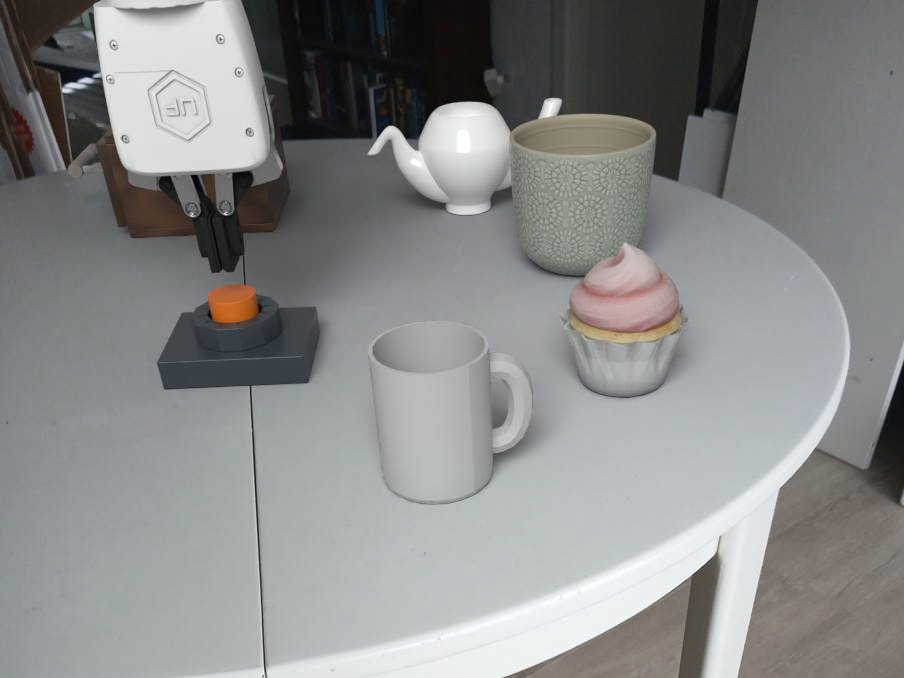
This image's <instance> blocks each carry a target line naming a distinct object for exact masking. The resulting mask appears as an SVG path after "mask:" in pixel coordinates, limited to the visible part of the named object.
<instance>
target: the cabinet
mask: <svg viewBox="0 0 904 678" xmlns="http://www.w3.org/2000/svg"><path fill="white" fill-rule="evenodd" d="M268 98H269V103H270V108H271V113H272V118H273V125H274V135H275V139H274V144H275V147H276V149H277V152H278V154H279V157H280V159H281V162H282V164H283V171H282V173H281V175H280V177H279V178H278V179H275V180H272V181H269V182H266V183H263V184H260V185H256V186H253V187H250V189H249V190H248V192H247V193H246V194H245V196H244V197H243V199H242V200H241V201H240V203H239V204H238V206H237V210H238V215H239V220H240V225H241V230H242V234H245V233H246V234H247V233H248V234H249V233H267V232H275V231H276V228H277V226H278V224H279V223H278V222H279V221H280V218H281V216H282V213H283V210H284V208H285V206H286V203H287V200H288V198H289V195H290V192H291V187H290V181H289V175H288V168H287V161H286V156H285V149H284V144H283V143H284V142H283V137H282V131H281V125H280V119H279V118H280V117H279V112H278V106H277V101H276V100H277V99H276V95H275V94H268ZM103 136H104V139H105V143H106V147H107V150H108V154H109V158H110V161H111V165H112V169H113V173H114V176H115V180H116V184H117V187H118V191H119V195H120V198H121V202H122V206H123V209H124V213H125V217H126V221H127V224H128V227H127V228H128V232H129V235H130V238H131V239H136V238H138V239H139V238H158V237H159V238H161V237H180V236H181V237H182V236H196V233H195V229H194V224H193V220H192V217H189V216H188V215H187V214H186V213H185V212H184V210H183V208H182V207H181V206H180V205H179V204H177V203H176V202H175V201H174V200H172V199H171V198H170V197H169V196H167V195H166V194H165V193H164V192H162V191H159V190H157V191H156V190H150V189H145V188H140V187H135V186H133V185H132V184H130V182H129V181H128V170H127V169H126V168H125V167H124V166H123V164H122V162H121V160H120V157H119V154H118V151H117V148H116V144H115V140H114V136H113V131H112V127H110V128H109V129H108V130H107V131H106V132H105V133H104V134H103ZM200 176H201V178H202V181H203V184H204V187H205V189H206V192H207V195H208V197H209V198H210V199H211V203H214V204H216V189H215V175H214V174H200Z"/></svg>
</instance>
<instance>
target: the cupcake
mask: <svg viewBox="0 0 904 678" xmlns="http://www.w3.org/2000/svg"><path fill="white" fill-rule="evenodd" d="M679 294H680V293H679V289H678V288H677V286H676V285H675V282H674V281H673V279H672V278H671V277H670V276H669V274H668V273H667V272H666V271H664V269H662V268H660V267H659V266H658V265H657V263H656V261H655V260H654V259H653V258H652V257H651V255H649V254H648V253H647V252H645V251H644V250H642V249H641V248H639V247H638V246H637V247H634V246H632V245H630V244H628V243H623V245H622V247H621V249H620V250H619V253H618V256H614V257H609V258H606V259H604V260H602V261H600V262H599V263H598V264H596V265H595V266H594V267H593V268H592V269H591V270H590V271H589V272H588V273H587V274H586V275H584V278H583V279H581V280H580V281H578V283H576V284H575V285H574V287H573V288H572V290H571V291H570V294H569V298H568V304H569V307H570V308H569V309H567V310H564V311H561V312H560V313H559V314H558V315H559V317H560V319H561V321H562V323H563V330H564V332H565V334H566V336H567V338H568V340H569V341H570V344H571V346H572V351H573V357H574V361H575V366H576V370H577V375H578V377H579V378H578V379H580V381H581V384H583V385H584V387H586V388H587V389H589V390H591V391H592V392H595V393H597V394H601V395H604V396H608V397H618V398H621V397H623V398H624V397H625V398H630V397H636V396H641V395H646V394H648V393H651V392H653V391H655V390H656V389H658V388H660V386H661V385H662V384H663V382H665V379H666V376H667V375H668V374H667V373H668V370H669V368H670V366H671V362H672V359H673V357H674V354H675V351H676V349H677V347H678V344H679V341H680V340H681V338H682V336H683V335H684V333H685V331H686V329H687V328H688V325H689V324H690V322H691V320H692V319H691V316H689V315H688V314H686V313H684V312H685V309H686V306H685V304H683V303H680V296H679Z"/></svg>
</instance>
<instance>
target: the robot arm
mask: <svg viewBox="0 0 904 678" xmlns="http://www.w3.org/2000/svg"><path fill="white" fill-rule="evenodd" d="M93 19H94V31H95V39H96V47H97V55H98V60H99V67H100V73H101V77H102V78H101V80H102V85H103V92H104V96H105V100H106V107H107V112H108V116H109V122H110V126H111V127H112V131H113V136H114V140H115V144H116V148H117V151H118V154H119V157H120V160H121V162H122V164H123V166H124V167H125V168H126V169H127V170H128V181H129V182H130V184H132V185H133V186H135V187H140V188H145V189H150V190H156V191H157V190H159V191H162V192H164V193H165V194H166V195H167V196H169V197H170V198H171V199H172V200H174V201H175V202H176V203H177V204H179V205H180V206H181V207H182V208H183V210H184V212H185V213H186V214H187V215H188V216H189V217H192V220H193V224H194V229H195V233H196V235H195V238H196V242H197V246H198V250H199V253H200V254H199V255H200V256H201V258H202V259H205V258H207V260H208V264H209V270H210V272H211V274H219V273H220V272H222V271H223V272H224V271H225V272H226V273H234V272H235V270H236V268H237V266H238V263H239V261H240V257H242V256H245V252H246V251H245V250H246V247H245V246H246V245H245V241H244V236H243V235H244V234H243V233H242V230H241V225H240V220H239V215H238V210H237V206H238V204H239V203H240V201H241V200H242V199H243V197H244V196H245V194H246V193H247V192H248V190H249V189H250V187H253V186H256V185H260V184H263V183H266V182H269V181H272V180H275V179H278V178H279V177H280V175H281V173H282V171H283V164H282V162H281V159H280V157H279V154H278V152H277V149H276V147H275V144H274V139H275V135H274V125H273V118H272V113H271V108H270V103H269V98H268V95H269V94H268V89H267V86H266V82H265V77H264V74H263V70H262V66H261V61H260V58H259V54H258V51H257V47H256V43H255V39H254V36H253V32H252V29H251V25H250V23H249V19H248V16H247V13H246V11H245V7H244V4H243V2H242V0H99V1H97V2H95V3H94V4H93ZM111 127H110V128H111ZM200 174H214V175H215V189H216V204H214V203H211V199H210V198H209V197H208V195H207V192H206V189H205V187H204V184H203V181H202V178H201V176H200Z"/></svg>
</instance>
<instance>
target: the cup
mask: <svg viewBox="0 0 904 678" xmlns="http://www.w3.org/2000/svg"><path fill="white" fill-rule="evenodd" d="M489 342H490V341H489V338H488V337H487V335H485V334H484V332H483V331H481V330H479V329H478V328H476V327H473V326H471V325H468V324H465V323H460V322H455V321H449V320H425V321H424V320H422V321H416V322H409V323H404V324H401V325H397V326H395V327H392V328H389V329H387V330H385V331H383V332H381V333H379V334H378V335H377V336H376V337H375V338H373V339H372V340H371V342H370V343H369V345H368V347H367V356H368V365H369V375H370V382H371V383H370V384H371V390H372V398H373V399H372V400H373V406H374V407H373V408H374V415H375V416H374V417H375V424H376V431H377V440H378V449H379V456H380V466H381V471H382V477H383V480H384V481H385V483H386V485H387V487H389V489H390V490H391V491H392V492H394V493H395V494H396V495H397V496H398V497H401V498H403V499H404V500H406V501H410V502H413V503H418V504H426V505H443V504H449V503H450V504H451V503H454V502H459V501H463V500H465V499H467V498H470V497H472V496H474V495H475V494H477V493H479V492H480V491H481V490H482V489H483V488H484V487H485V485H486V484H488V482H489V481H490V479H491V478H492V474H493V471H494V454H498V453H503V452H505V451H507V450H509V449H511V448H514V447H515V446H516V445H517V444H519V442H520V441H521V440H522V439H523V438H524V436H525V434H526V432H527V430H528V428H529V426H530V423H531V419H532V415H533V410H534V388H533V383H532V379H531V376H530V374H529V371H527V368H526V366H525V365H524V364H523V363H522V362H521V361H520V360H519V359H517V358H516V357H514V356H513V355H512V354H511V355H510V354H506V353H502V352H490V343H489ZM496 379H501V380H502V382H503V384H504V386H505V388H506V391H507V397H508V409H507V416H506V417H505V420H504V421H503V422H502V424H500V425H498V426H496V427H493V419H492V417H493V415H492V391H491V390H492V387H491V382H492V381H491V380H496Z"/></svg>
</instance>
